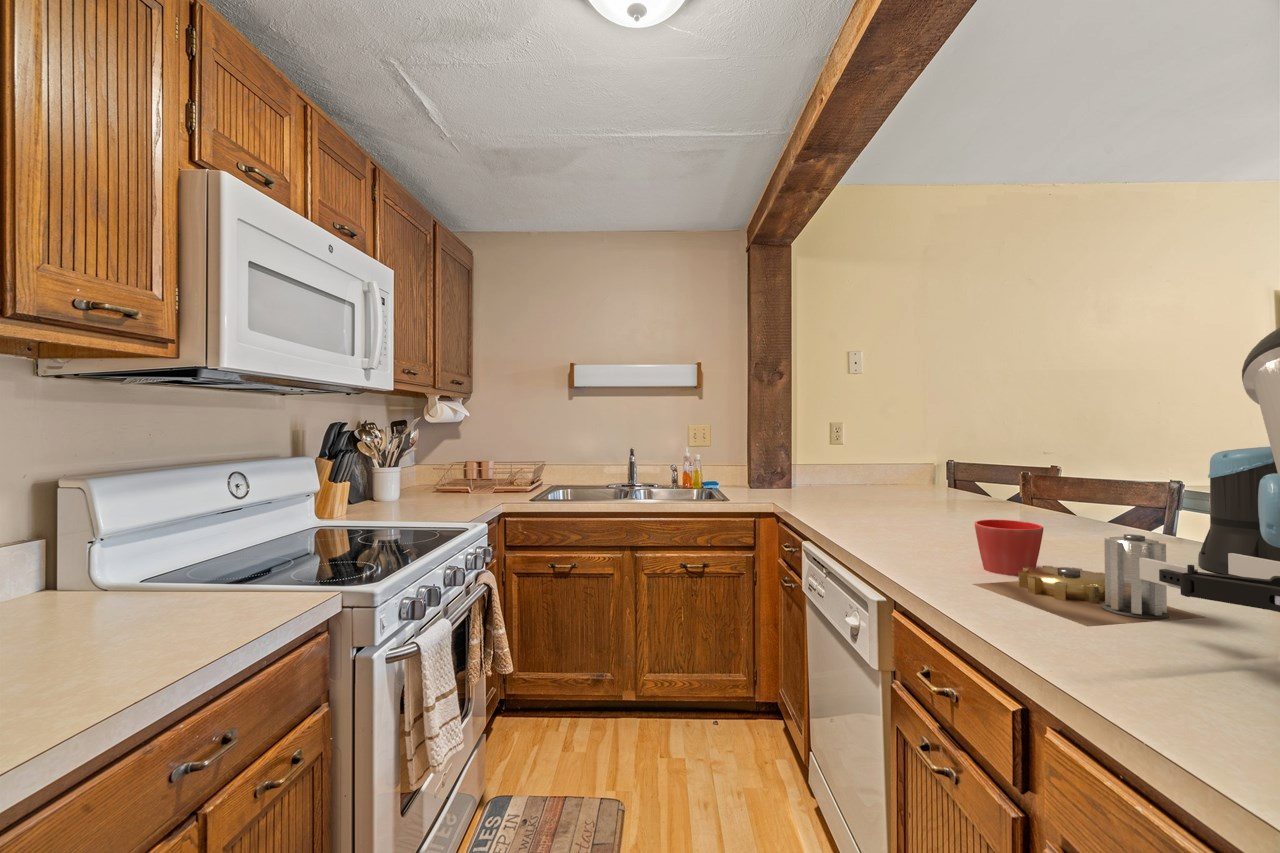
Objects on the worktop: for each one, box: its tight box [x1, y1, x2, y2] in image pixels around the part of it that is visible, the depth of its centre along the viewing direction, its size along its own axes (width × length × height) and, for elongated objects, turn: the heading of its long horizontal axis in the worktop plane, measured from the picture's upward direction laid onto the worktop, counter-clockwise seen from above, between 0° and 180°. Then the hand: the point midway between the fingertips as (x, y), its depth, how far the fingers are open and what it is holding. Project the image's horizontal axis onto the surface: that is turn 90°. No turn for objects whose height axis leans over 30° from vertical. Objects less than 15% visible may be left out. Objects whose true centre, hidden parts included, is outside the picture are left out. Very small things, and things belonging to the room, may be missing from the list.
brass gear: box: [1017, 565, 1105, 604], centre depth 97 cm, size 14×14×4 cm
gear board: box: [972, 580, 1206, 627], centre depth 93 cm, size 19×22×1 cm
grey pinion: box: [1103, 533, 1168, 615], centre depth 86 cm, size 7×7×11 cm
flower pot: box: [974, 519, 1044, 577], centre depth 111 cm, size 11×11×10 cm
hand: (1186, 565), depth 79 cm, fingers open, 13 cm apart
